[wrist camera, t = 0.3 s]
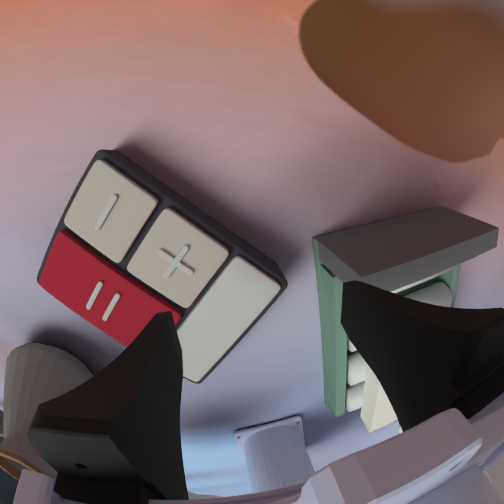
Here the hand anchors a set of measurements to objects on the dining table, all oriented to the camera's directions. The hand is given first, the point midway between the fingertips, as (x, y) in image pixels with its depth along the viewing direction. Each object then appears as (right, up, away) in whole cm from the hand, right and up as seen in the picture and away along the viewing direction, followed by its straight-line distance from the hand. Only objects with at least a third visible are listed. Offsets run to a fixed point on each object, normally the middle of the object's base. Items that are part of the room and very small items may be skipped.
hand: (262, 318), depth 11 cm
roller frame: (+13, -4, +15) cm, 20 cm away
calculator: (-8, +2, +9) cm, 12 cm away
